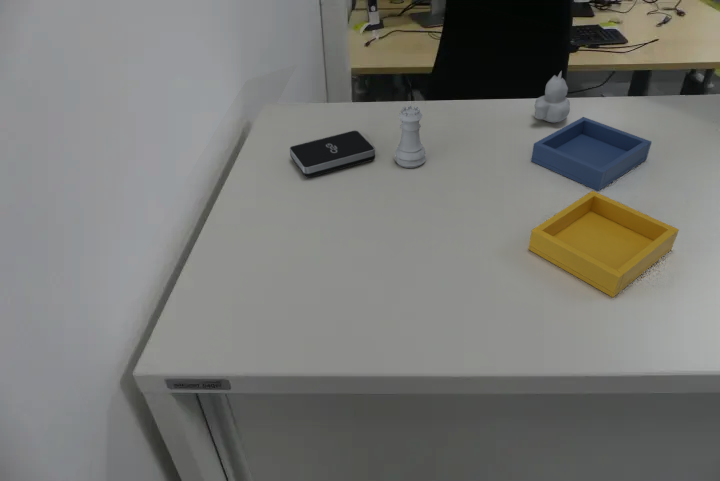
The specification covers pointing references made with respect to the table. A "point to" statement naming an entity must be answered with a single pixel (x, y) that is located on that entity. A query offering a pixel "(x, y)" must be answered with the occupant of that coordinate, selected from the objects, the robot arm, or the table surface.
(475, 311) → the table surface
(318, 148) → the external hard drive
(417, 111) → the rook chess piece
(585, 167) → the blue tray
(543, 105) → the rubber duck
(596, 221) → the yellow tray
